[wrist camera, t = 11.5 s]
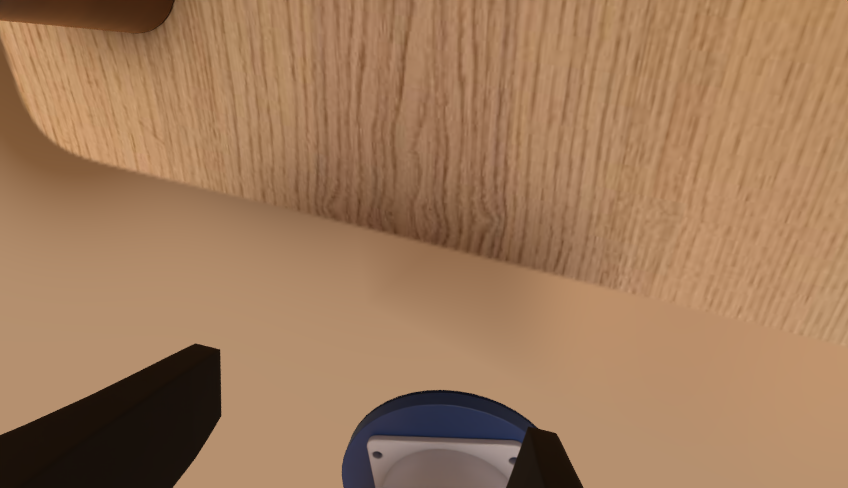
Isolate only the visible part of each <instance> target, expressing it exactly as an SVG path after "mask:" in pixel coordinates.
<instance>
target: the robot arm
mask: <svg viewBox="0 0 848 488" xmlns="http://www.w3.org/2000/svg"><path fill="white" fill-rule="evenodd" d="M220 417H221V371H220V349H216V348H212V347H208V346H203V345H199V344H194V345H191V346H189V347H187V348H185V349H183V350H181V351H179V352H177V353H175V354H173V355H171V356H169V357H167V358H165V359H163V360H161V361H159V362H157V363H155V364H153V365H151V366H149V367H147V368H145V369H143V370H141V371H139V372H137V373H135V374H133V375H131V376H129V377H127V378H125V379H123V380H121V381H119V382H117V383H115V384H112V385H110V386H108V387H106V388H104V389H102V390H100V391H98V392H96V393H94V394H92V395H90V396H88V397H86V398H83V399H81V400H79V401H77V402H75V403H73V404H70V405H68V406H66V407H63V408H61V409H59V410H57V411H55V412H53V413H50V414H48V415H46V416H44V417H41V418H39V419H37V420H35V421H33V422H30V423H28V424H26V425H24V426H21V427H19V428H16V429H14V430H12V431H9V432H7V433H4V434H2V435H0V488H173V486H174V485H175V484H176V482H177V481H178V480H179V479H180V477H181V476H182V475H183V473H184V472H185V471H186V470H187V468H188V467H189V466H190V464H191V463H192V462H193V461H194V459H195V458H196V456H197V455H198V453H199V451H200V450H201V448H202V447H203V445H204V444H205V442H206V441H207V439H208V437H209V436H210V434H211V432H212V431H213V429H214V427H215V426H216V423H217V422H218V420H219V419H220ZM367 449H368V454H369V459H370V464H371V468H372V473H373V478H374V483H375V488H583V486H582V484H581V482H580V480H579V478H578V476H577V474H576V472H575V470H574V468H573V466H572V464H571V462H570V460H569V458H568V456H567V454H566V452H565V449H564V447H563V445H562V443H561V441H560V439H559V437H558V436H557V434H556V433H552V432H549V431H545V430H541V429H537V428H533V427H529V426H528V428H527V431H526V434H525V437H524V439H523V442H522V444H521V443H520V442H519V441H516V440H497V439H469V438H441V437H413V436H386V435H374V436H371V437H370V438H369V440H368V443H367ZM377 451H378V452H377ZM379 452H380V453H379ZM511 457H516V458H511Z"/></svg>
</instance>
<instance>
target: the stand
mask: <svg viewBox="0 0 848 488" xmlns="http://www.w3.org/2000/svg"><path fill="white" fill-rule="evenodd" d="M172 4H173V0H0V20H1V21H12V22H23V23H33V24H44V25H54V26H65V27H75V28H86V29H97V30H107V31H118V32H128V33H143V32H148V31H150V30H152V29H154V28H156V27H157V26H159V25H160V24H161V23H162V22H163V21H164V19H165V18H166V17H167V15H168V13H169V11H170V9H171V7H172Z"/></svg>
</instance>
